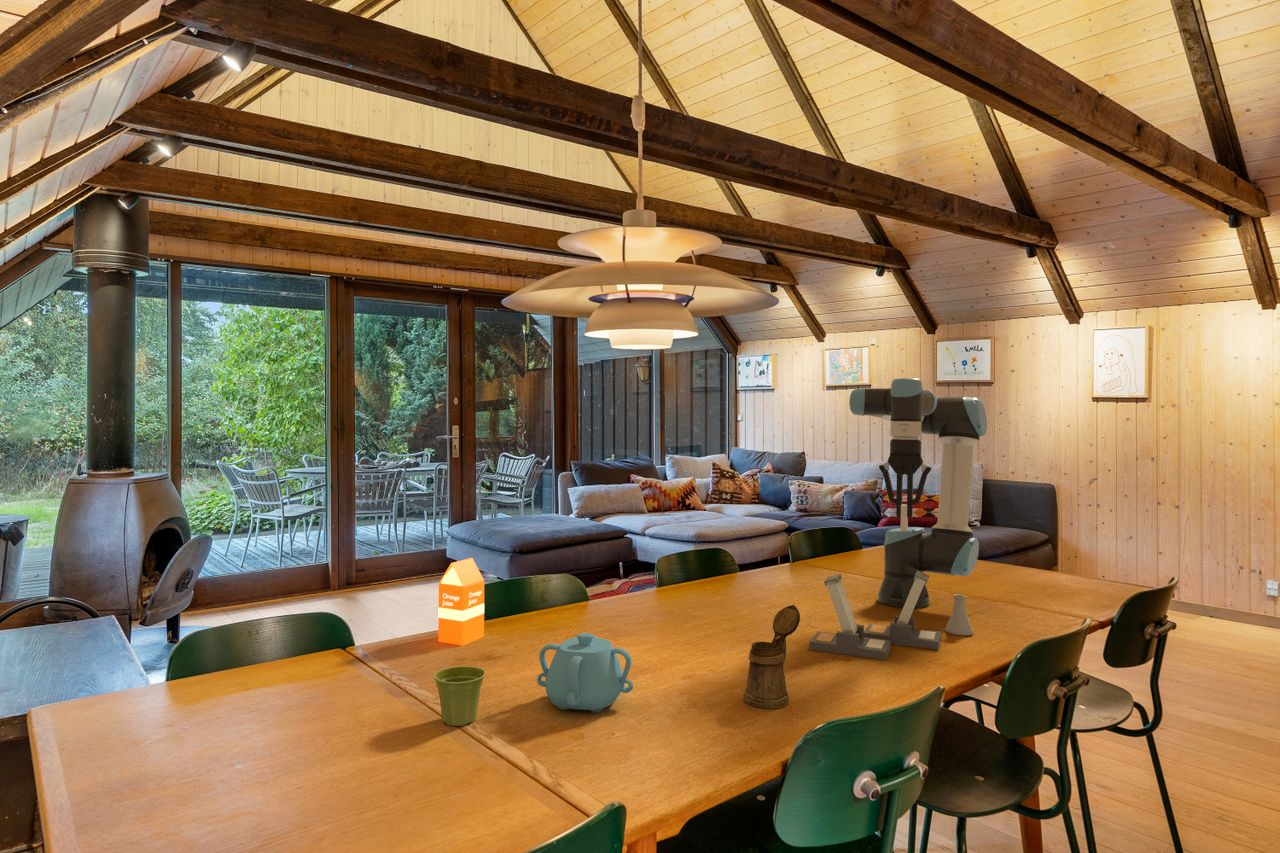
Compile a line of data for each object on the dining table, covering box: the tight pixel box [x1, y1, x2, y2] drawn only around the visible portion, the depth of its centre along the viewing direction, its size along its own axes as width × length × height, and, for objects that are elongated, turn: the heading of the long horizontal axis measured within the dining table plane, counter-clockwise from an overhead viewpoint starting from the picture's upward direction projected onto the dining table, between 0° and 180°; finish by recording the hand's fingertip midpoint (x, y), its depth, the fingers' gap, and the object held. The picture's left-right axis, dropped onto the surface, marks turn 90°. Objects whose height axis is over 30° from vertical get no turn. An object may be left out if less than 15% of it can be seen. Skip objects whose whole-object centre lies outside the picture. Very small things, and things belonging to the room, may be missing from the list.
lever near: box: [823, 573, 857, 633], centre depth 189 cm, size 3×6×15 cm, turn 155°
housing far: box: [864, 614, 942, 651], centre depth 197 cm, size 18×10×5 cm, turn 65°
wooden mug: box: [743, 604, 801, 710], centre depth 155 cm, size 9×14×18 cm, turn 132°
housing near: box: [809, 623, 892, 661], centre depth 189 cm, size 18×10×5 cm, turn 65°
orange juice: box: [437, 557, 485, 647], centre depth 193 cm, size 8×9×20 cm
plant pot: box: [433, 665, 487, 727], centre depth 142 cm, size 9×9×9 cm
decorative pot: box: [536, 632, 634, 713], centre depth 151 cm, size 16×16×14 cm
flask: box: [944, 593, 974, 636], centre depth 204 cm, size 7×7×10 cm
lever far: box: [897, 570, 930, 625], centre depth 196 cm, size 3×6×15 cm, turn 155°
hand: (904, 530), depth 196 cm, fingers closed
